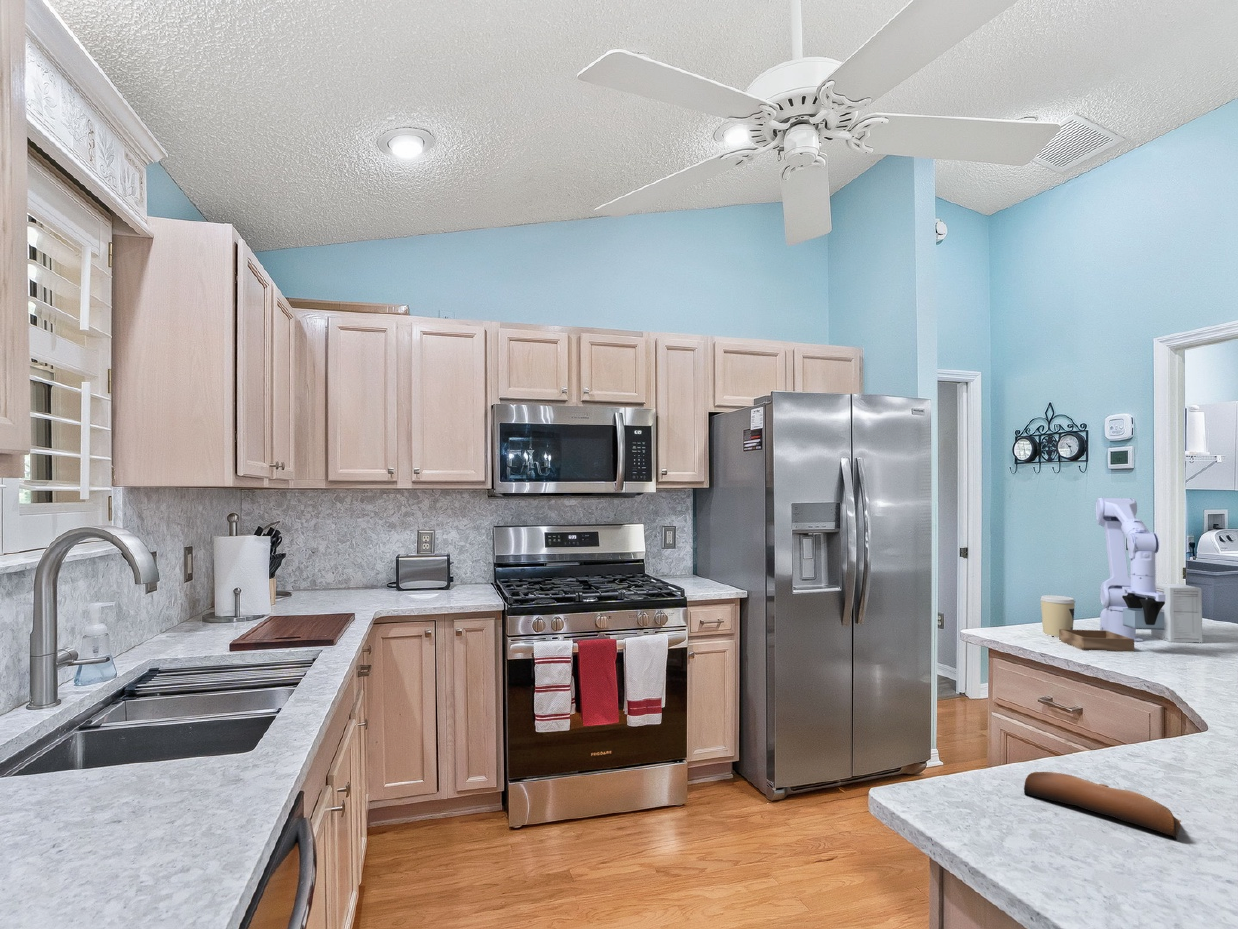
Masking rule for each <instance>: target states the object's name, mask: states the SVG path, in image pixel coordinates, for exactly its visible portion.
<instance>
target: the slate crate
mask: <svg viewBox="0 0 1238 929" xmlns="http://www.w3.org/2000/svg"><path fill="white" fill-rule="evenodd" d="M1123 626H1126V627H1129V628H1133V629H1136V630H1149V631H1150V630H1164V612H1162V611H1160V612H1159V614H1158V616H1157V619H1156V623H1155V625H1146V623H1145V618H1144V610H1143V609H1137V608H1123Z"/></svg>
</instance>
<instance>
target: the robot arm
mask: <svg viewBox="0 0 1238 929" xmlns="http://www.w3.org/2000/svg"><path fill="white" fill-rule="evenodd" d="M1137 503H1138V502H1137V501H1136V500H1135V498H1134V497H1125V498H1123V497H1098V498H1097V500H1096V503H1095V515H1096V516H1095V517H1096V521H1097V525H1099V526H1101V527H1102V528H1103V531H1104V534H1105V543H1106V553H1107V561H1108V562H1107V563H1108V569H1109V578H1108V579H1107V578H1106V580H1104V581H1103V582H1102V583H1101V585H1100V594H1099V595H1100V596H1099V598H1100V602H1101V605H1102V607H1104V608H1103V609H1102V610H1101V612H1100V615H1099V619H1100V620H1099V623H1100V625H1099V628H1100V629H1099V630H1104V631H1110V632H1113V633H1116V634H1119V635H1122V636H1125V637H1128V638H1131V639H1134V642H1144V640H1143V639H1142V638H1139V637H1137V634H1136V633H1137V632H1136V631H1137V629H1133V628H1129V627H1126V626H1123V608H1137V609H1143V610H1144V618H1145V623H1146V625H1155V623H1156V619H1157V616H1158V614H1159V612H1160V610H1161V608H1162V607H1163V606H1164V604H1165V602H1164V601H1165V594H1161V593H1159V592H1157V591H1156V584H1157V583H1156V581H1157V580H1156V571H1157V570H1156V554H1158V552H1159V549H1160V540H1159V539H1160V538H1159V536H1158V534H1157V533H1156V532H1151V531H1149V529H1148V528H1147V526H1146V524H1144V522H1143V520H1141V519H1139V518H1137V517H1136V516H1137V513H1138V504H1137ZM1125 538H1126V544H1125ZM1126 545H1127V546H1126ZM1126 547H1127V550H1128V558H1129V559H1130V565H1129V566H1130V577H1129V570H1128V560H1127V552H1126Z"/></svg>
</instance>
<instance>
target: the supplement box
mask: <svg viewBox="0 0 1238 929" xmlns="http://www.w3.org/2000/svg"><path fill="white" fill-rule="evenodd" d="M1156 591H1157V592H1159V593H1161V594H1165V601H1164V602H1165V604H1164V606H1163V607H1162V608H1161V610H1160V611H1162V612H1164V630H1151V631H1150V633H1151V635H1150V636H1151V637H1154V638H1156V639H1160V638H1161V640H1163V639H1164V641H1167V642H1169V643H1186V642H1199V643H1198V644H1203V604H1202V603H1203V602H1202V601H1203V599H1202V595H1203V593H1202V592H1203V591H1202V588H1201V587H1197V586H1193V585H1187V584H1184V583H1156ZM1200 642H1201V643H1200Z"/></svg>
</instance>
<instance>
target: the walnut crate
mask: <svg viewBox="0 0 1238 929" xmlns="http://www.w3.org/2000/svg"><path fill="white" fill-rule="evenodd" d="M1058 640H1061V641H1062V643H1064V644H1066V643H1067V645H1069V644H1071V645H1073V646H1072V647H1074V646H1075V647H1074V648H1076V647H1077V649H1079V650H1082V651H1089V650H1107V651H1106V652H1123V651H1134V652H1135V641H1134V639H1131V638H1128V637H1125V636H1122V635H1119V634H1116V633H1113V632H1110V631H1104V630H1100V629H1099V630H1096V629H1093V630H1092V629H1073V630H1068V629H1059V638H1058ZM1061 641H1060V642H1061ZM1071 645H1070V646H1071Z"/></svg>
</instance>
